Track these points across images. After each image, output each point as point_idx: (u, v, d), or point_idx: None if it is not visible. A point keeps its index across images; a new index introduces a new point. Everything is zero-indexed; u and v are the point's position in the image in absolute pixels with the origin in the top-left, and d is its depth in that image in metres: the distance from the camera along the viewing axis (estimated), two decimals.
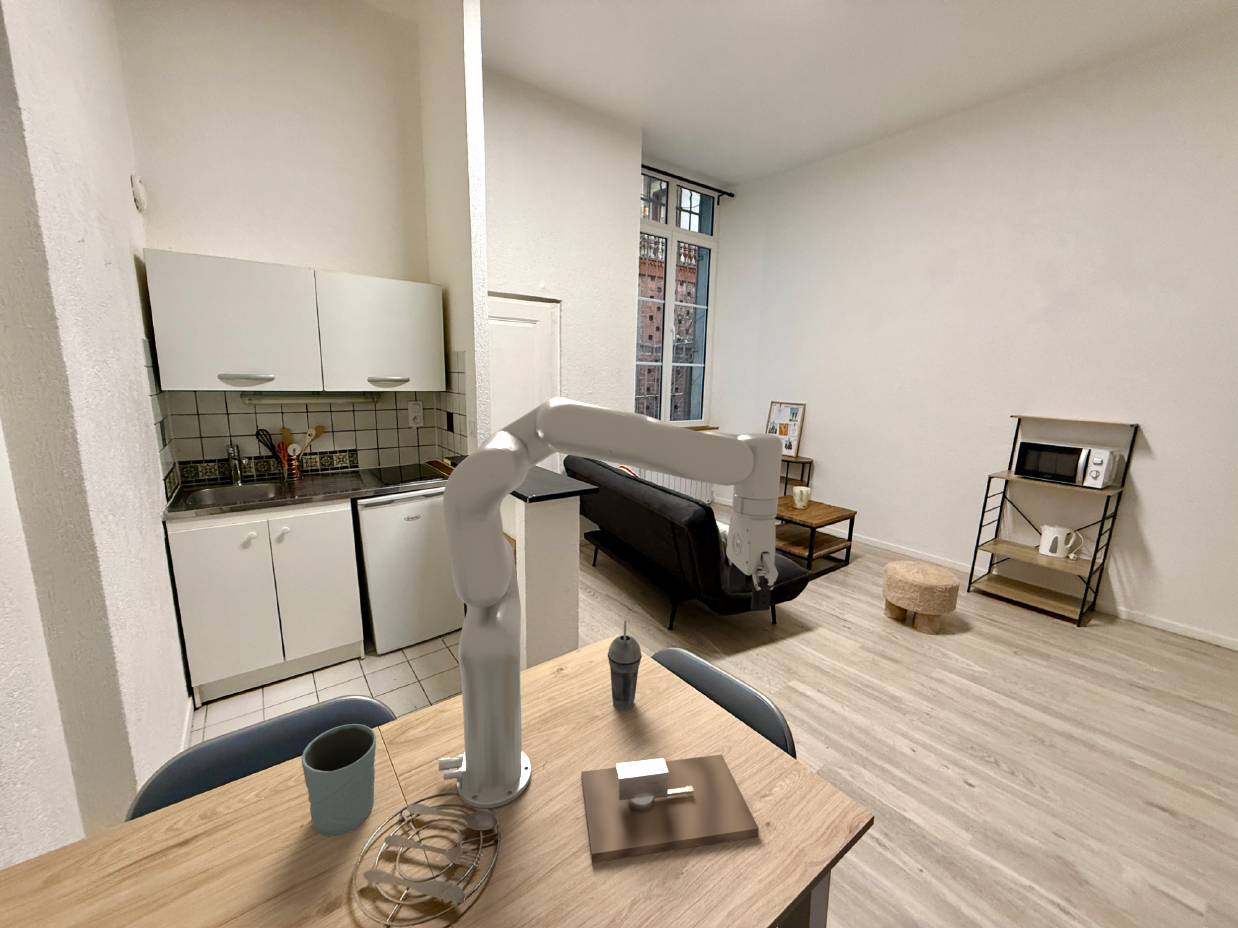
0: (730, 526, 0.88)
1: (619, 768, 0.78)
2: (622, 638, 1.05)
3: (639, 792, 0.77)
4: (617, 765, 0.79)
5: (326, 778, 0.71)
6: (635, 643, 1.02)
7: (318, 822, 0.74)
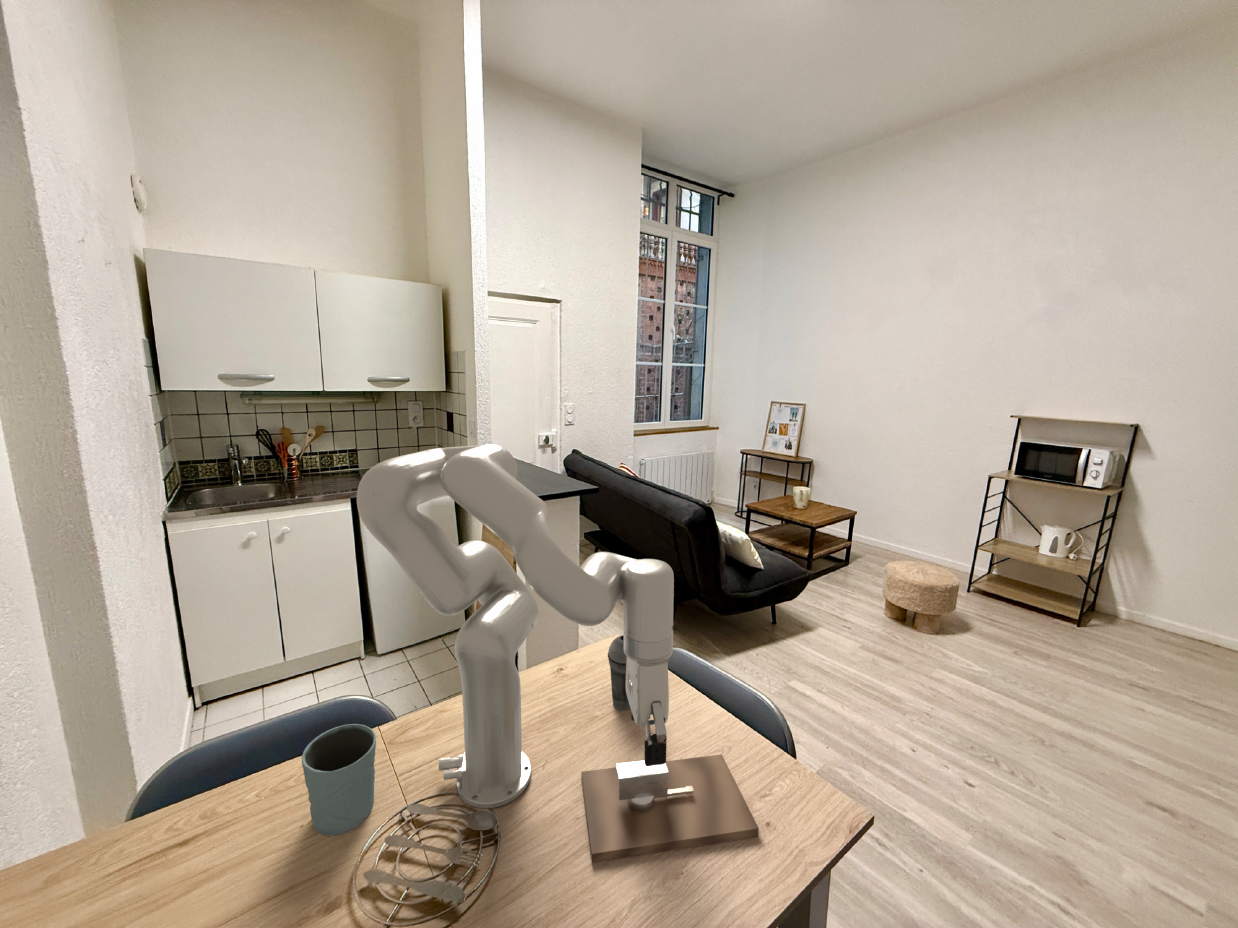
0: None
1: (619, 768, 0.78)
2: (622, 638, 1.05)
3: (639, 792, 0.77)
4: (617, 765, 0.79)
5: (326, 778, 0.71)
6: None
7: (318, 822, 0.74)
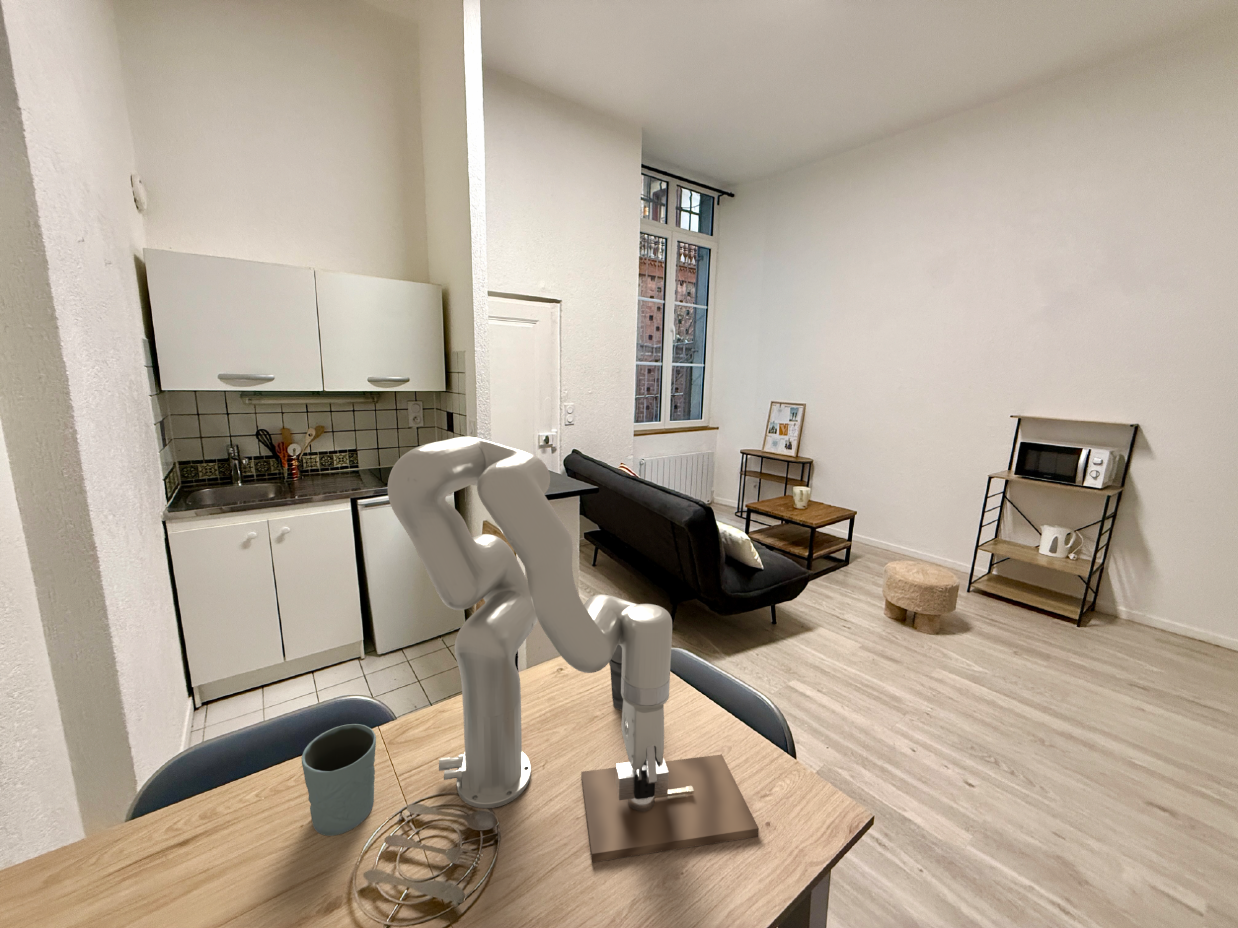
0: (623, 699, 0.79)
1: (619, 768, 0.78)
2: None
3: None
4: (617, 765, 0.79)
5: (326, 778, 0.71)
6: None
7: (318, 822, 0.74)
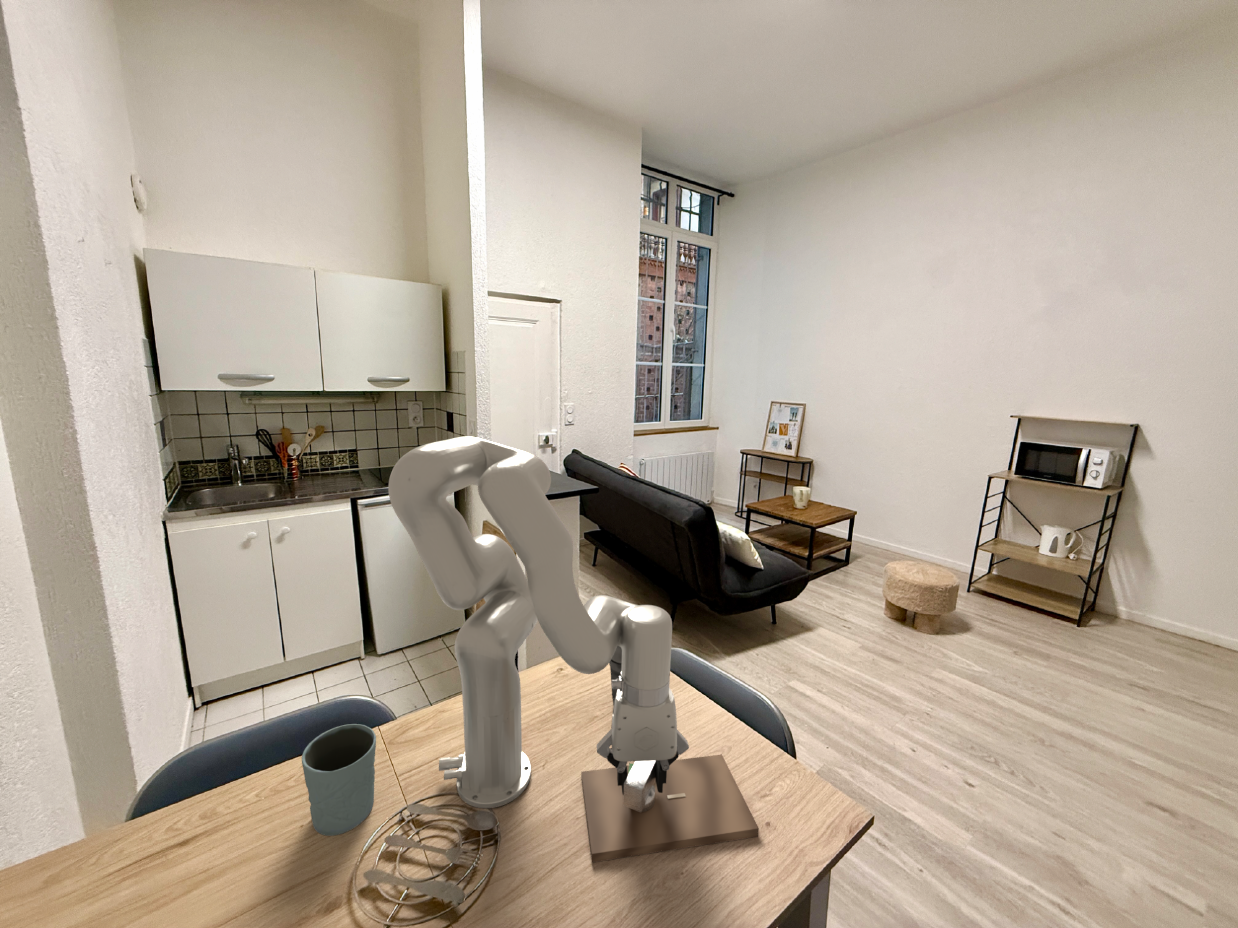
0: (623, 726, 0.73)
1: (630, 783, 0.75)
2: None
3: (648, 790, 0.78)
4: (626, 783, 0.75)
5: (326, 778, 0.71)
6: None
7: (318, 822, 0.74)
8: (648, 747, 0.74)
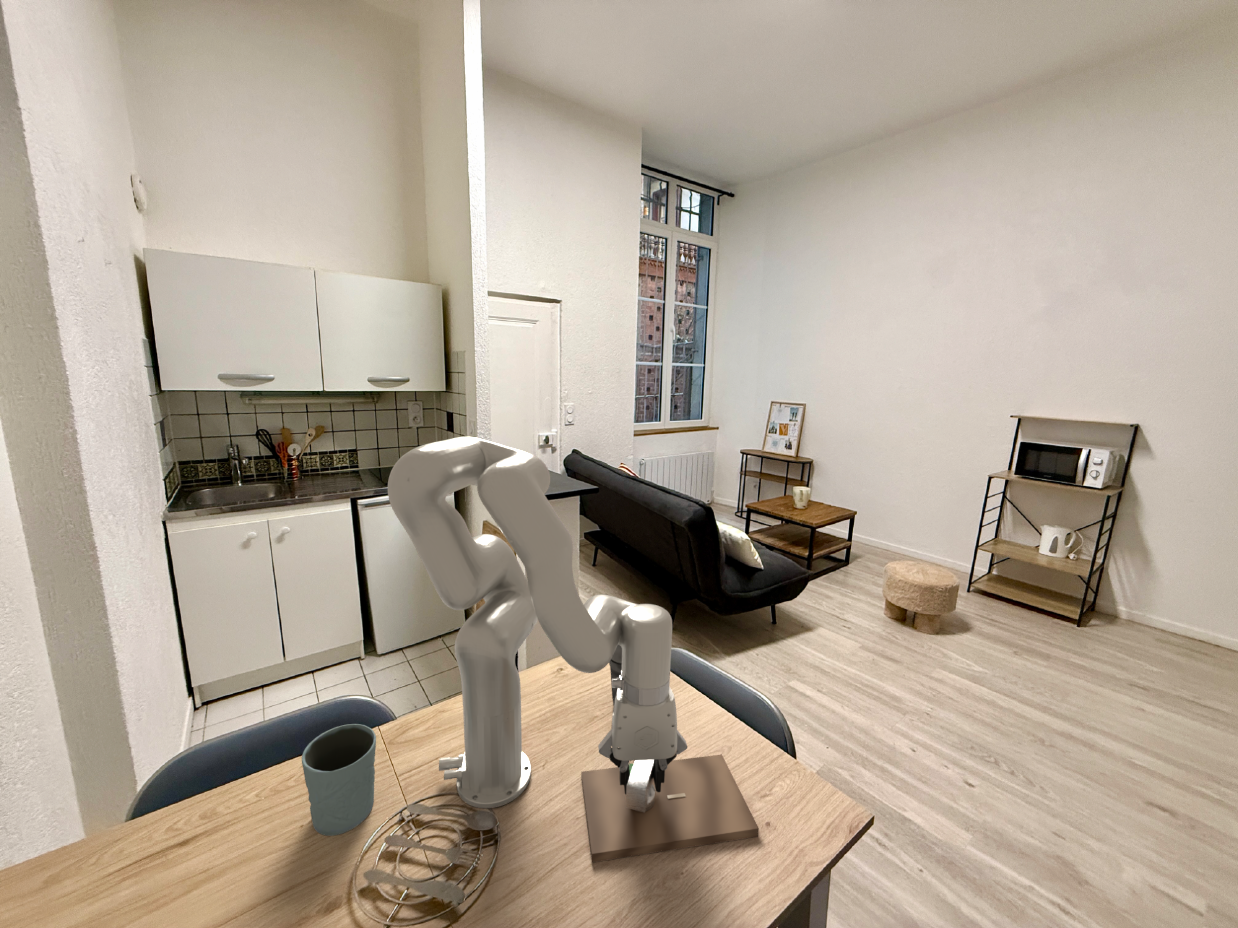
0: (623, 725, 0.73)
1: (633, 785, 0.75)
2: None
3: (649, 789, 0.78)
4: (629, 785, 0.75)
5: (326, 778, 0.71)
6: None
7: (318, 822, 0.74)
8: (648, 746, 0.74)
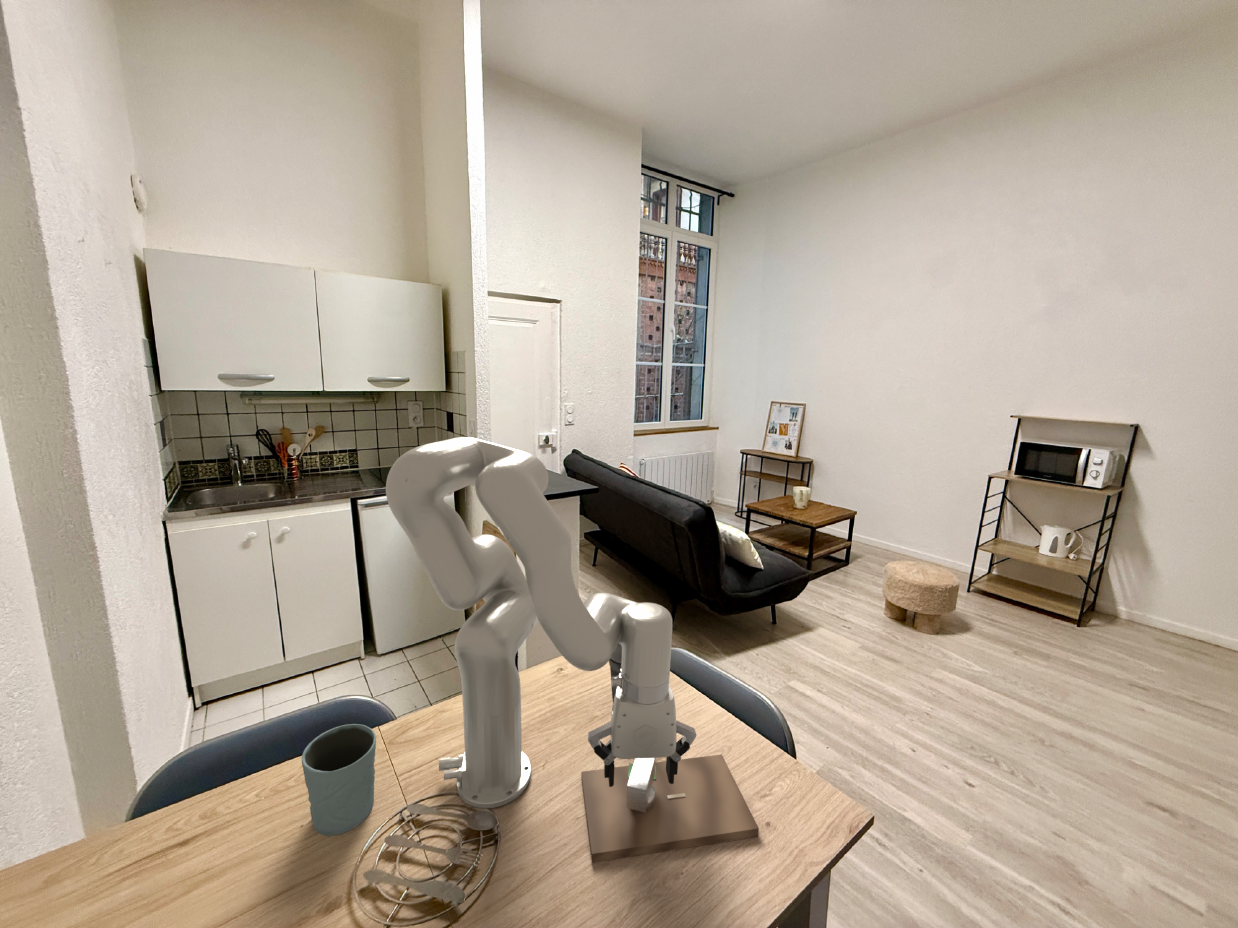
0: (622, 723, 0.73)
1: (633, 785, 0.75)
2: None
3: (649, 789, 0.78)
4: (629, 785, 0.75)
5: (326, 778, 0.71)
6: None
7: (318, 822, 0.74)
8: (647, 744, 0.74)
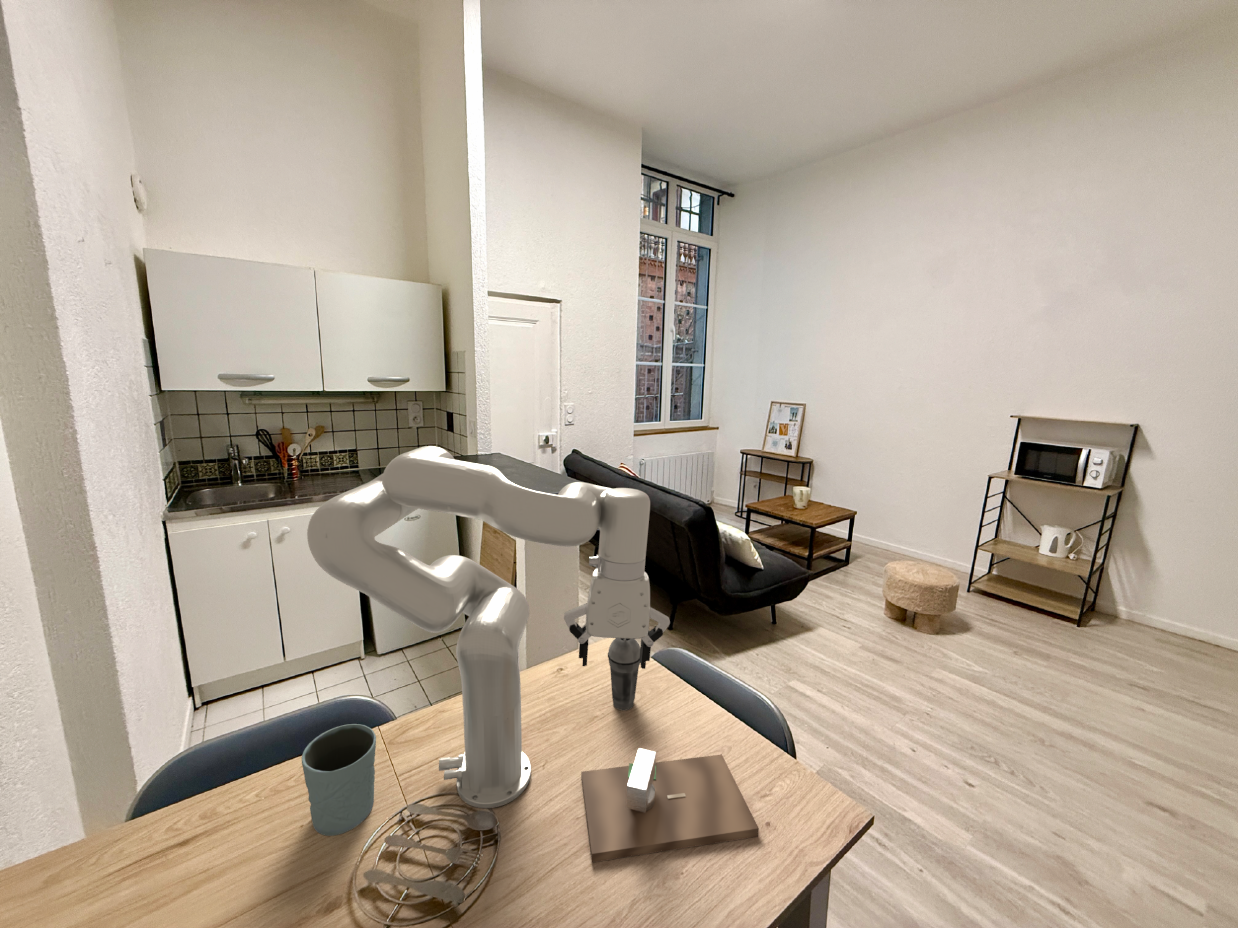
0: (597, 600, 0.76)
1: (634, 785, 0.75)
2: (622, 638, 1.05)
3: (649, 789, 0.78)
4: (629, 785, 0.75)
5: (326, 778, 0.71)
6: (635, 643, 1.02)
7: (318, 822, 0.74)
8: (620, 624, 0.76)
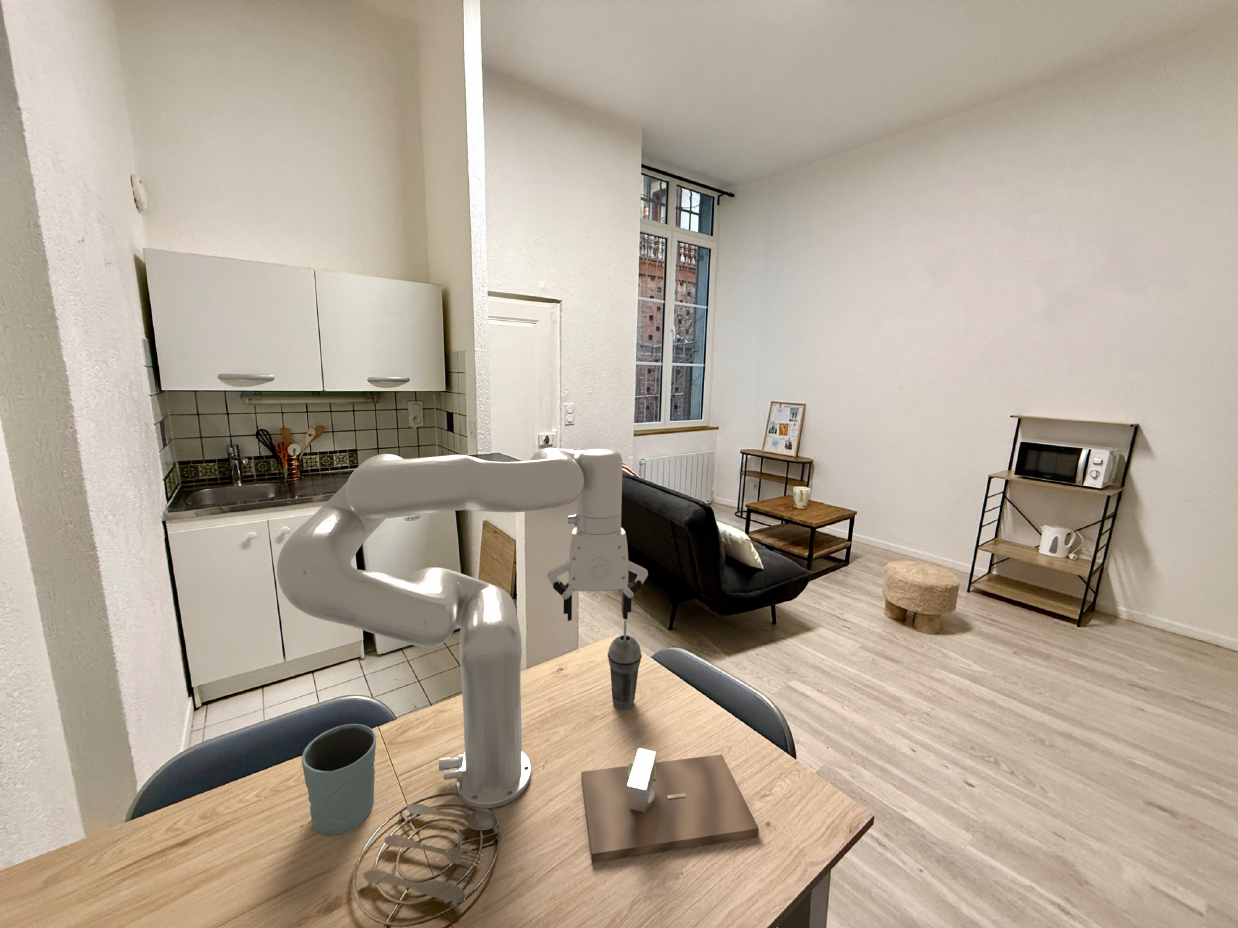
0: (577, 556, 0.80)
1: (634, 785, 0.75)
2: (622, 638, 1.05)
3: (649, 789, 0.78)
4: (629, 785, 0.75)
5: (326, 778, 0.71)
6: (635, 643, 1.02)
7: (318, 822, 0.74)
8: (601, 577, 0.81)
